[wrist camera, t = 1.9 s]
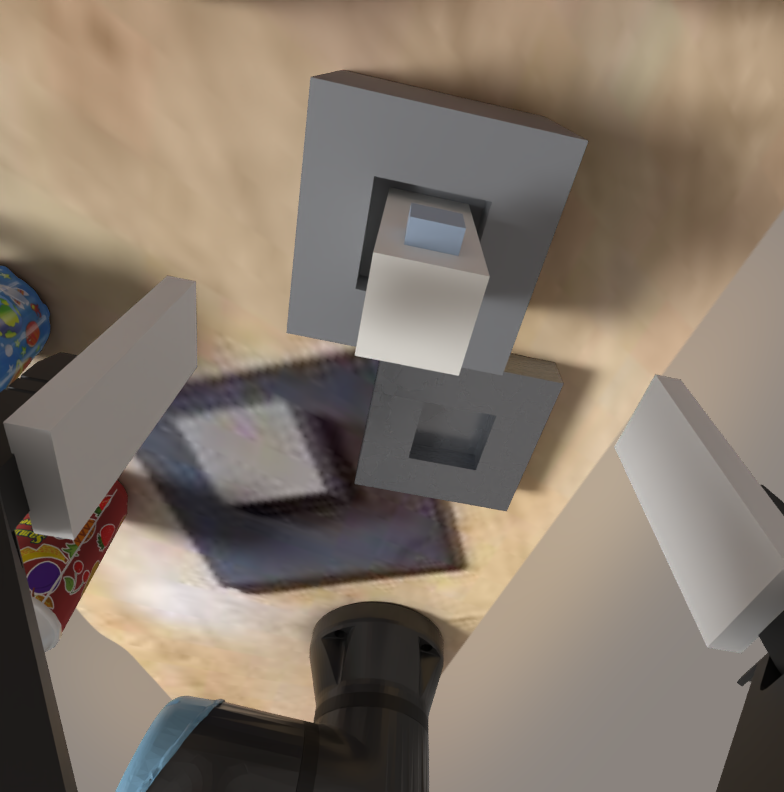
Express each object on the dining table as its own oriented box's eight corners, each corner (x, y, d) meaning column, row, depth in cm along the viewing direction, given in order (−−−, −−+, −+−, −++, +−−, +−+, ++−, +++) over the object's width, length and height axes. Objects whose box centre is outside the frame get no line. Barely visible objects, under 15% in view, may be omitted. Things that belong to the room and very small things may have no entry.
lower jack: (502, 486, 47) (506, 511, 44) (358, 460, 46) (354, 483, 43) (554, 362, 40) (563, 383, 37) (386, 328, 39) (383, 347, 36)
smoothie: (87, 441, 46) (-103, 661, 30) (160, 499, 50) (28, 724, 33) (35, 481, 50) (-164, 700, 33) (107, 532, 53) (-39, 754, 36)
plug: (448, 280, 28) (458, 375, 20) (375, 264, 28) (354, 355, 20) (474, 183, 26) (498, 247, 17) (393, 165, 25) (378, 222, 17)
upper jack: (484, 303, 37) (502, 375, 29) (318, 268, 37) (286, 332, 28) (543, 116, 31) (588, 140, 22) (342, 69, 30) (310, 76, 22)
